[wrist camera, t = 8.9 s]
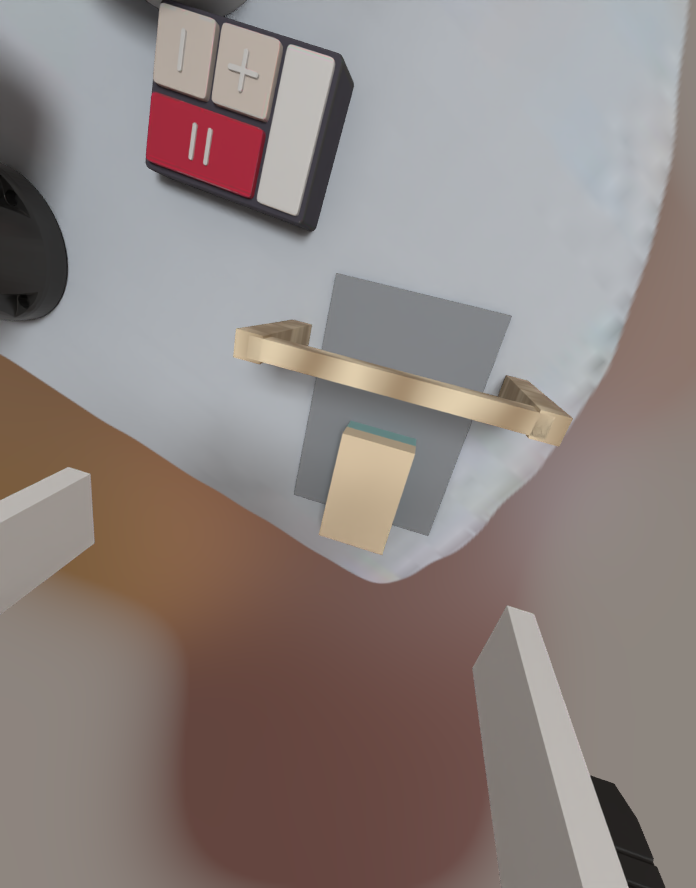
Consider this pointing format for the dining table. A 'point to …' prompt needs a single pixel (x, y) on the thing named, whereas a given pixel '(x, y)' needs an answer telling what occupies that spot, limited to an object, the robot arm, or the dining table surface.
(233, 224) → the dining table surface
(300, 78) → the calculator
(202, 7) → the lumpy-topped squat cylinder
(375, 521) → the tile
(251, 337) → the rail
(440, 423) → the mat
